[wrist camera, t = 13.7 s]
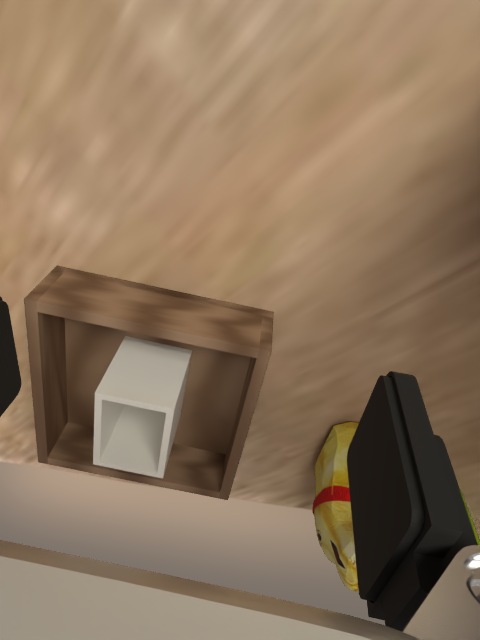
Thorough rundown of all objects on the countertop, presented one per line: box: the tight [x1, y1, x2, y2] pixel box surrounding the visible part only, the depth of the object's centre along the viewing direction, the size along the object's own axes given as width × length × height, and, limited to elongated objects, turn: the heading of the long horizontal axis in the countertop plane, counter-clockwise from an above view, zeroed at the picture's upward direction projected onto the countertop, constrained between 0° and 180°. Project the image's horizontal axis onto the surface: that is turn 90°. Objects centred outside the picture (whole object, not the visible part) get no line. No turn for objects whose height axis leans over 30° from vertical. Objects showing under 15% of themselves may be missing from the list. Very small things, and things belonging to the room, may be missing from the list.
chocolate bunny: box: [313, 422, 359, 592], centre depth 43 cm, size 7×11×15 cm, turn 168°
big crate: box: [24, 266, 274, 500], centre depth 43 cm, size 20×20×6 cm
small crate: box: [93, 336, 192, 478], centre depth 42 cm, size 6×9×8 cm
